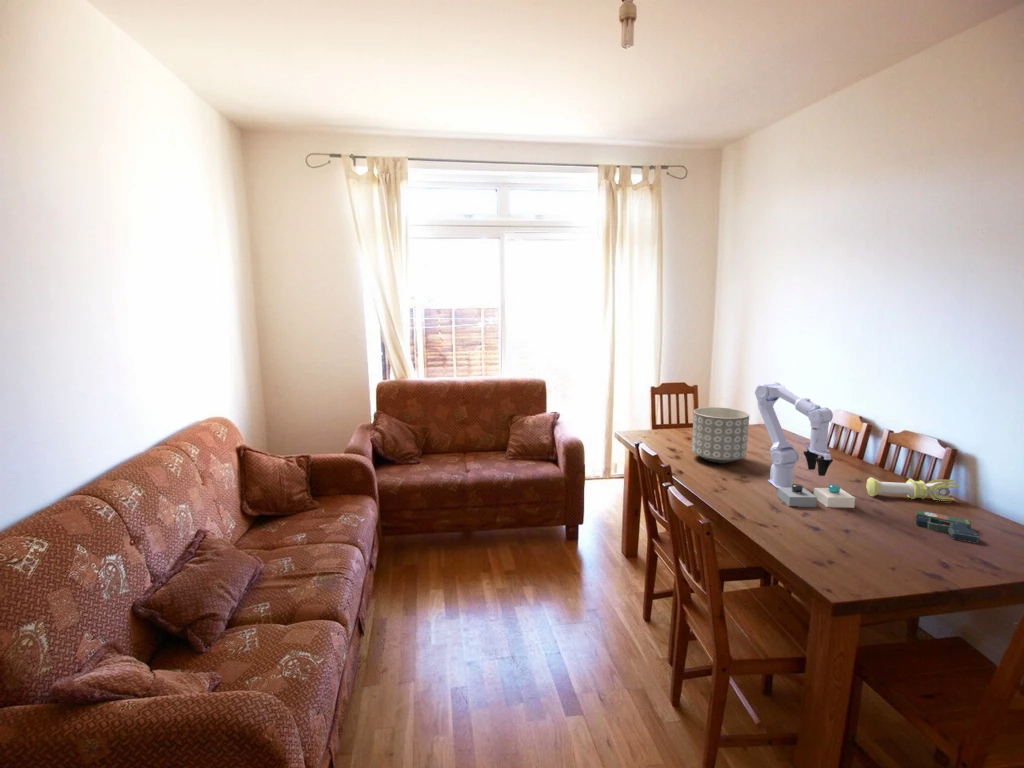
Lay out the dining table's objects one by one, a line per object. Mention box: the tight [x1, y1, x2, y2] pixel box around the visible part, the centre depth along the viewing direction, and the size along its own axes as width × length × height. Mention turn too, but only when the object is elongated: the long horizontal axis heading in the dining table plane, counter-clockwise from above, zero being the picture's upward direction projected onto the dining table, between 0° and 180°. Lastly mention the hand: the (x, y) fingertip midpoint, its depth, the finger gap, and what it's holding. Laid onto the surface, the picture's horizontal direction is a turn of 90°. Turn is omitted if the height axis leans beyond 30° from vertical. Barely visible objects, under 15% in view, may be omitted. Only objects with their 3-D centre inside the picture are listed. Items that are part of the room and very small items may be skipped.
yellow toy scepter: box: [865, 477, 960, 501], centre depth 203 cm, size 8×8×30 cm
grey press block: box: [776, 487, 818, 508], centre depth 200 cm, size 10×10×4 cm
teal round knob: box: [828, 484, 841, 494], centre depth 199 cm, size 4×4×6 cm
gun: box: [915, 509, 981, 544], centre depth 175 cm, size 3×16×15 cm
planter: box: [691, 406, 750, 464], centre depth 252 cm, size 25×25×24 cm
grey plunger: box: [792, 483, 804, 494], centre depth 200 cm, size 4×4×6 cm
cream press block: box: [812, 487, 856, 509], centre depth 200 cm, size 10×10×4 cm
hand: (816, 472), depth 203 cm, fingers open, 7 cm apart
